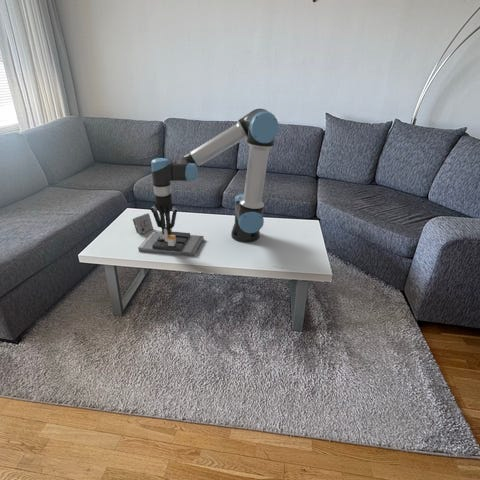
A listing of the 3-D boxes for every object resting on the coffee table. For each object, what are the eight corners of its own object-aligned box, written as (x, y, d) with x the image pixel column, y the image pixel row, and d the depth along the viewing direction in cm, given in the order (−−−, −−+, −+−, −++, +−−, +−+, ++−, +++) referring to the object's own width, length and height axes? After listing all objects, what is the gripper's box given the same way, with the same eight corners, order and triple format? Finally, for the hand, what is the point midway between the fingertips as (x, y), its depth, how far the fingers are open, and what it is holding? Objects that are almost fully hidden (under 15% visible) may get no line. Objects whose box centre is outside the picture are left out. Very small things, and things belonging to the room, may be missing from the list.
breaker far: (172, 231, 172) (171, 223, 170) (170, 234, 169) (169, 226, 167) (166, 231, 173) (165, 223, 171) (164, 233, 170) (163, 226, 168)
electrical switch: (139, 235, 176) (136, 218, 173) (133, 233, 180) (130, 217, 176) (153, 229, 183) (151, 213, 179) (148, 227, 186) (145, 212, 182)
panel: (203, 239, 173) (203, 233, 172) (194, 256, 157) (194, 250, 156) (152, 235, 177) (152, 229, 175) (138, 251, 161) (137, 245, 159)
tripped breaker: (176, 243, 161) (175, 235, 159) (174, 246, 158) (173, 238, 156) (170, 242, 161) (169, 234, 159) (168, 245, 158) (167, 237, 156)
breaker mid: (168, 236, 167) (167, 228, 165) (165, 239, 164) (165, 231, 162) (162, 236, 167) (161, 228, 165) (160, 239, 165) (159, 231, 162)
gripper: (179, 191, 151) (182, 237, 162) (152, 190, 152) (157, 235, 163) (174, 197, 144) (177, 245, 155) (145, 195, 146) (151, 242, 157)
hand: (167, 240), depth 159 cm, fingers closed
